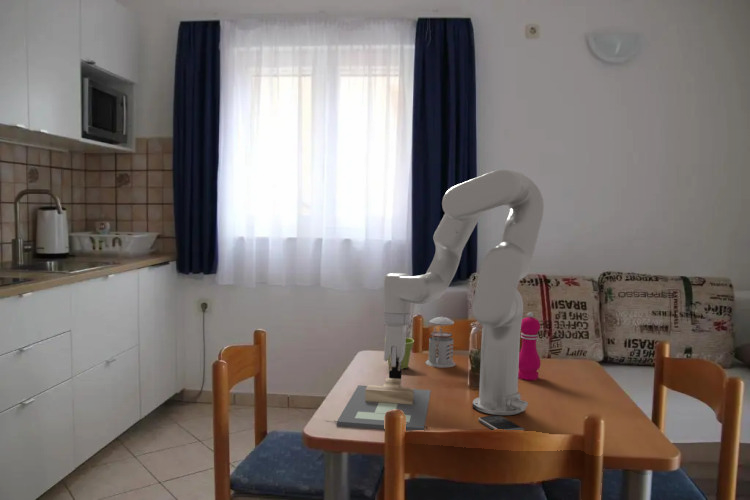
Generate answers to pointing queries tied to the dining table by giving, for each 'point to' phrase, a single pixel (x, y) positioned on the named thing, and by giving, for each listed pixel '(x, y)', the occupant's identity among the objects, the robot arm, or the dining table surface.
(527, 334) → the pepper mill
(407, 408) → the mat
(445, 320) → the french press
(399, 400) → the t block
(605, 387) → the dining table surface
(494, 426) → the cell phone
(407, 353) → the plant pot
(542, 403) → the dining table surface
